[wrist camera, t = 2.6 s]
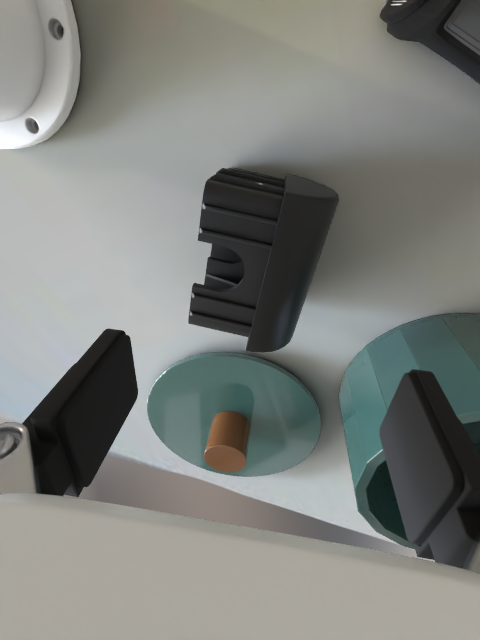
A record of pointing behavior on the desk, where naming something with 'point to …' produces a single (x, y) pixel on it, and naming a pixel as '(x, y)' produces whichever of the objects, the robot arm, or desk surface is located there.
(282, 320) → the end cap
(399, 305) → the desk surface
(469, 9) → the electric trimmer
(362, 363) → the canister
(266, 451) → the lid
